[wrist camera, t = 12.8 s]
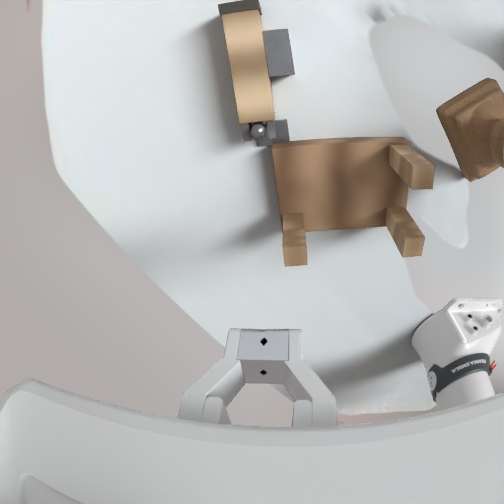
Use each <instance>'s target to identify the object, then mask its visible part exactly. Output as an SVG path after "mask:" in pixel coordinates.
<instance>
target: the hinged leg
mask: <svg viewBox="0 0 504 504" xmlns="http://www.w3.org/2000/svg"><path fill="white" fill-rule="evenodd" d="M218 8H219V14H220V15H221V16H222V20H223V26H224V32H225V38H226V44H227V50H228V56H229V62H230V68H231V74H232V80H233V86H234V92H235V98H236V104H237V110H238V116H239V122H240V124H241V125H242V132H243V138H244V141H249V140H251V138H252V136H251V129H252V124H251V122H258V121H267V128H268V135H269V138H276V127H275V119H274V118H275V111H274V104H273V96H272V89H271V81H270V77H269V71H268V65H267V59H266V53H265V47H264V41H263V35H262V31H263V29H262V22H261V16H260V15H262V14H261V8H260V4H259V1H258V0H242V1H235V2H229V3H224V4H218Z"/></svg>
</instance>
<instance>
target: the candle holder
mask: <svg viewBox="0 0 504 504" xmlns="http://www.w3.org/2000/svg"><path fill="white" fill-rule="evenodd" d="M436 112H437V115H438V117H439V119H440V121H441V124H442V126H443V128H444V130H445V132H446V135H447V137H448V139H449V142H450V144H451V146H452V149H453V151H454V154H455V156H456V159H457V161H458V164H459V167H460V169H461V172H462V174H463V176H464V177H465V178H466V179H467V180H469V181H470V182H472V181H474V180H476V179H480V178H482V177H484V176H486V175H488V174H489V173H491V172H492V171H494V170H495V169H497V168H498V167H500V166H501V167H503V168H504V93H503V91H502V90H501V89H500V87H499V85H498V83H497V81H496V80H494V79H490V78H486V79H484V80H482V81H480V82H478V83H477V84H475V85H473V86H472V87H470V88H468V89H467V90H465V91H463V92H462V93H460V94H459V95H457V96H455V97H454V98H452V99H450V100H449V101H447V102H445V103H444V104H442V105H441V106H439V107H438V108H437V109H436Z"/></svg>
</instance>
